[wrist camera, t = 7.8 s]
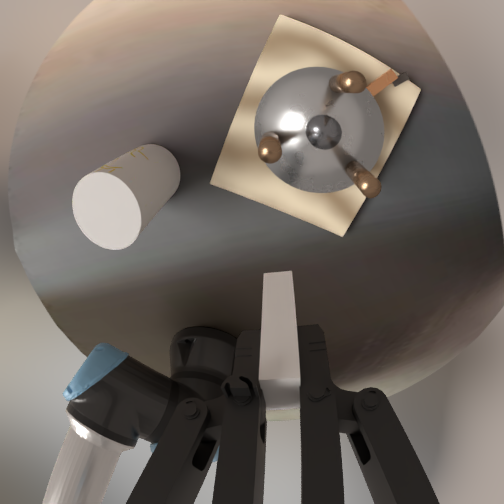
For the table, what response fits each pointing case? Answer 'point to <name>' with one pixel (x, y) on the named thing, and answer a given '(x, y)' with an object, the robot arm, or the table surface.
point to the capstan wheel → (322, 129)
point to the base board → (242, 129)
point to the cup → (125, 195)
